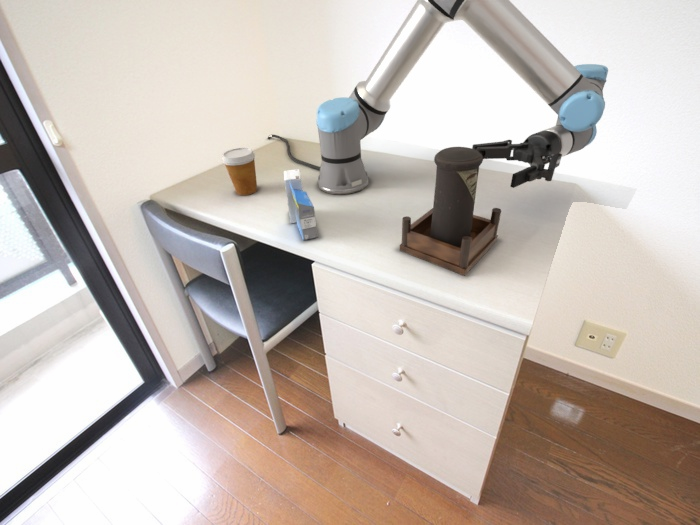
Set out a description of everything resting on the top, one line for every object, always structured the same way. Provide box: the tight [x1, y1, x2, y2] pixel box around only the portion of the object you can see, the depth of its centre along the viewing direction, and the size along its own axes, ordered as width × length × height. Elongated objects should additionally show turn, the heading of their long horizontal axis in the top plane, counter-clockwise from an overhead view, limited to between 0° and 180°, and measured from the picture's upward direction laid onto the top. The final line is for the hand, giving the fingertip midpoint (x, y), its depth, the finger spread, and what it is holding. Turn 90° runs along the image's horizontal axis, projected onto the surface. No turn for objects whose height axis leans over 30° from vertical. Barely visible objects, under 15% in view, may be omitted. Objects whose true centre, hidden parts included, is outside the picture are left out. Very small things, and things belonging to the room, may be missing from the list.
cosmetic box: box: [283, 168, 304, 224], centre depth 94 cm, size 6×4×12 cm
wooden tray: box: [399, 207, 502, 277], centre depth 80 cm, size 16×16×8 cm
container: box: [430, 146, 484, 248], centre depth 75 cm, size 9×9×20 cm
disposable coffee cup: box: [221, 147, 258, 196], centre depth 110 cm, size 10×10×12 cm
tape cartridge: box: [289, 180, 319, 241], centre depth 88 cm, size 9×4×12 cm, turn 17°
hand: (484, 171), depth 77 cm, fingers open, 13 cm apart
